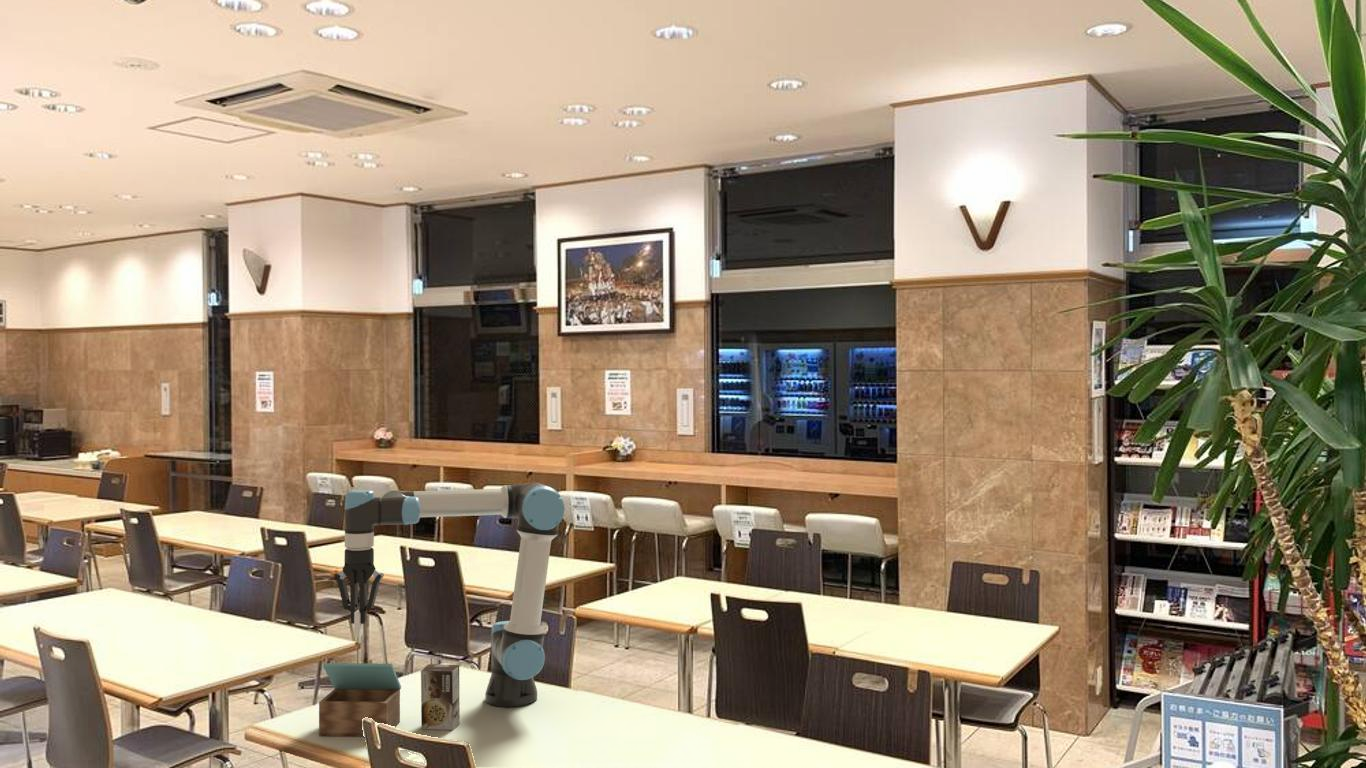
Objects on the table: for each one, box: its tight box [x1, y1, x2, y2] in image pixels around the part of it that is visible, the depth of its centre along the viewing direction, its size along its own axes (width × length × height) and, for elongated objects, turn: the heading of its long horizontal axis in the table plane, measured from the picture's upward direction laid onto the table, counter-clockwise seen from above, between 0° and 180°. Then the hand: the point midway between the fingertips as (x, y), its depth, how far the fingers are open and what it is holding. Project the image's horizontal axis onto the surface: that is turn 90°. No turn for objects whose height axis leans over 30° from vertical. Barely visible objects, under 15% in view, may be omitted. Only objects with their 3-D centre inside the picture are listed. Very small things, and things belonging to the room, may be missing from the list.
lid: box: [322, 662, 402, 690], centre depth 285 cm, size 18×12×1 cm
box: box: [318, 688, 401, 738], centre depth 283 cm, size 18×12×9 cm, turn 89°
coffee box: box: [420, 663, 461, 731], centre depth 286 cm, size 9×6×16 cm
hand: (358, 635), depth 282 cm, fingers closed
